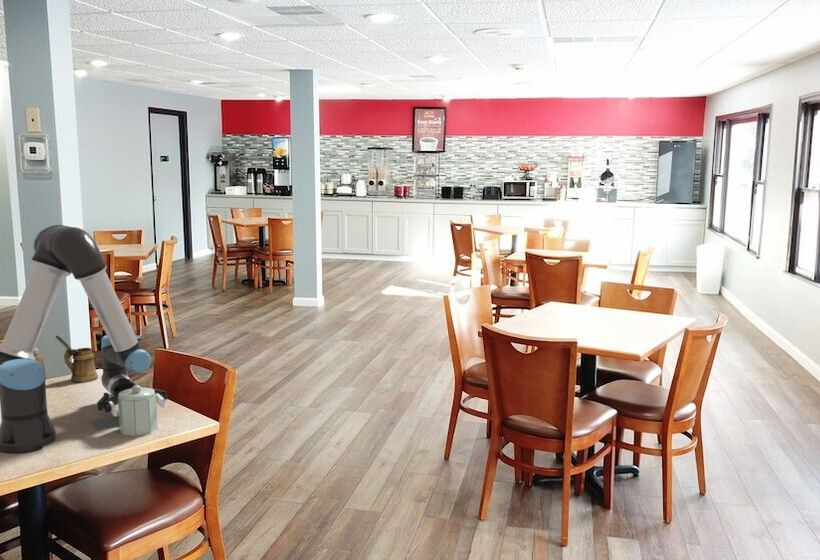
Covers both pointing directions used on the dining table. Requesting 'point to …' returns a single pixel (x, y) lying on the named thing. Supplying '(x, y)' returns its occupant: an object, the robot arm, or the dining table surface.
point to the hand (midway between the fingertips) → (139, 407)
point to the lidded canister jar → (137, 411)
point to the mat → (105, 423)
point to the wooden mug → (80, 363)
